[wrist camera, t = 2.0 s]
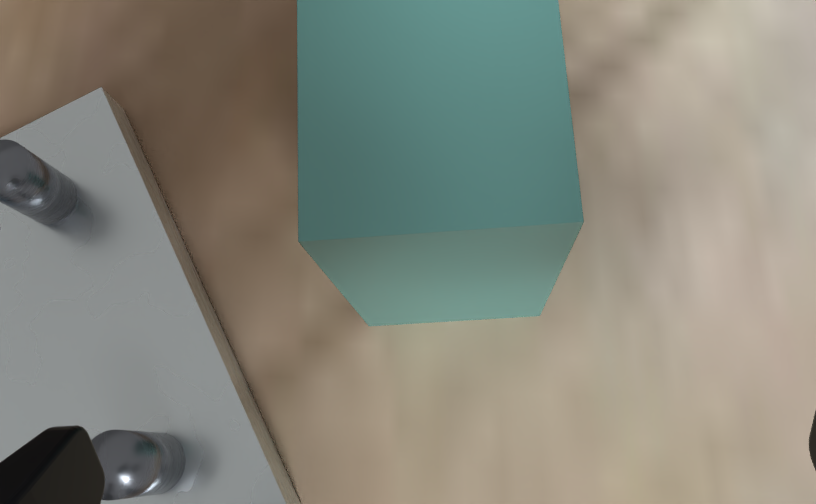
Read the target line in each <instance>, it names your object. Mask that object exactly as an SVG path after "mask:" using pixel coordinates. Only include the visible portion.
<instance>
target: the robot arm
mask: <svg viewBox="0 0 816 504" xmlns="http://www.w3.org/2000/svg"><path fill="white" fill-rule="evenodd" d="M809 451H810V456H811V459H812V462H813V465H814V467H815V470H816V411H815V416H814V420H813V424H812V428H811V432H810V437H809ZM104 487H105V475H104V471H103V468H102V465H101V463H100V460H99V458H98V456H97V453H96V451H95V448H94V446H93V444H92V441H91V439H90V436H89V434H88V432H87V431H86V430H85V429H84V428H83V427H82V426H78V425H73V426H55V427H50V428H48V429H46V430H44V431H43V432H41V433H40V434H39V435H37V436H36V437H34V438H33V439H32V440H30V441H29V442H28V443H26V444H25V445H23V446H22V447H21V448H19V449H18V450H17V451H15V452H14V453H12V454H11V455H10V456H8V457H7V458H5V459H4V460H3V461H1V462H0V504H101V500H102V496H103V493H104Z"/></svg>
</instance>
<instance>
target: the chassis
mask: <svg viewBox="0 0 816 504" xmlns="http://www.w3.org/2000/svg"><path fill="white" fill-rule="evenodd" d="M73 425H78V426H82V427H83V428H84V429H85V430H86V431H87V432H88V434H89V436H90V439H91V441H92V444H93V446H94V448H95V451H96V453H97V456H98V458H99V460H100V463H101V465H102V468H103V471H104V475H105V487H104V493H103V496H102V500H101V504H301V503H300V501H299V498H298V496H297V494H296V492H295V489H294V487H293V485H292V483H291V481H290V478H289V476H288V474H287V472H286V469H285V467H284V465H283V463H282V461H281V458H280V456H279V454H278V452H277V449H276V447H275V445H274V443H273V440H272V438H271V436H270V434H269V432H268V429H267V427H266V425H265V423H264V420H263V418H262V416H261V414H260V412H259V409H258V407H257V405H256V403H255V400H254V398H253V396H252V394H251V391H250V389H249V387H248V385H247V383H246V380H245V378H244V376H243V374H242V371H241V369H240V367H239V365H238V363H237V360H236V358H235V356H234V354H233V351H232V349H231V347H230V345H229V342H228V340H227V338H226V336H225V334H224V331H223V329H222V327H221V325H220V322H219V320H218V318H217V316H216V314H215V311H214V309H213V307H212V305H211V302H210V300H209V298H208V296H207V293H206V291H205V289H204V287H203V285H202V282H201V280H200V278H199V276H198V273H197V271H196V269H195V267H194V265H193V262H192V260H191V258H190V256H189V253H188V251H187V249H186V247H185V244H184V242H183V240H182V238H181V236H180V233H179V231H178V229H177V227H176V224H175V222H174V220H173V218H172V216H171V213H170V211H169V209H168V207H167V204H166V202H165V200H164V198H163V195H162V193H161V191H160V189H159V187H158V184H157V182H156V180H155V178H154V175H153V173H152V171H151V169H150V167H149V164H148V162H147V160H146V158H145V155H144V153H143V151H142V149H141V146H140V144H139V142H138V140H137V138H136V135H135V133H134V131H133V129H132V126H131V124H130V122H129V120H128V118H127V115H126V113H125V111H124V109H123V108H122V107H121V106H120V105H119V104H118V103H117V102H116V101H115V100H114V99H113V98H112V97H111V96H110V95H109V94H108V93H107V92H106V91H105V90H104V89H103V88H102V87H100V88H98V89H96V90H95V91H93V92H91V93H89V94H87V95H85V96H83V97H81V98H79V99H77V100H75V101H73V102H71V103H69V104H67V105H65V106H63V107H61V108H59V109H57V110H55V111H53V112H51V113H49V114H47V115H45V116H43V117H41V118H39V119H37V120H35V121H33V122H31V123H29V124H27V125H25V126H23V127H21V128H19V129H17V130H15V131H13V132H11V133H9V134H7V135H5V136H3V137H1V138H0V462H1V461H3V460H4V459H5V458H7V457H8V456H10V455H11V454H12V453H14V452H15V451H17V450H18V449H19V448H21V447H22V446H23V445H25V444H26V443H28V442H29V441H30V440H32V439H33V438H34V437H36V436H37V435H39V434H40V433H41V432H43V431H44V430H46V429H48V428H50V427H55V426H73Z"/></svg>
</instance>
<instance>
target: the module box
mask: <svg viewBox="0 0 816 504" xmlns="http://www.w3.org/2000/svg"><path fill="white" fill-rule="evenodd" d="M297 73H298V242H299V243H300V244H301V245H302V247H303V248H304V249H305V250H306V251H307V253H308V254H309V255H310V256H311V257H312V259H313V260H314V261H315V262H316V263H317V265H318V266H319V267H320V268H321V269H322V271H323V272H324V273H325V274H326V275H327V276H328V278H329V279H330V280H331V281H332V282H333V284H334V285H335V286H336V287H337V288H338V290H339V291H340V292H341V293H342V294H343V296H344V297H345V298H346V299H347V300H348V302H349V303H350V304H351V305H352V306H353V308H354V309H355V310H356V311H357V312H358V314H359V315H360V316H361V317H362V318H363V320H364V321H365V322H366V323H367V324H368V326H381V325H398V324H414V323H431V322H448V321H464V320H481V319H497V318H514V317H530V316H540V314H541V312H542V310H543V308H544V306H545V303H546V301H547V299H548V297H549V295H550V293H551V291H552V288H553V286H554V284H555V282H556V280H557V278H558V276H559V273H560V271H561V269H562V267H563V265H564V263H565V261H566V259H567V256H568V254H569V252H570V250H571V248H572V246H573V244H574V241H575V239H576V237H577V235H578V233H579V231H580V229H581V226H582V224H583V222H584V220H583V212H582V203H581V195H580V186H579V177H578V169H577V160H576V151H575V143H574V134H573V125H572V117H571V108H570V99H569V91H568V82H567V74H566V65H565V56H564V48H563V39H562V30H561V22H560V13H559V4H558V0H297Z"/></svg>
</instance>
